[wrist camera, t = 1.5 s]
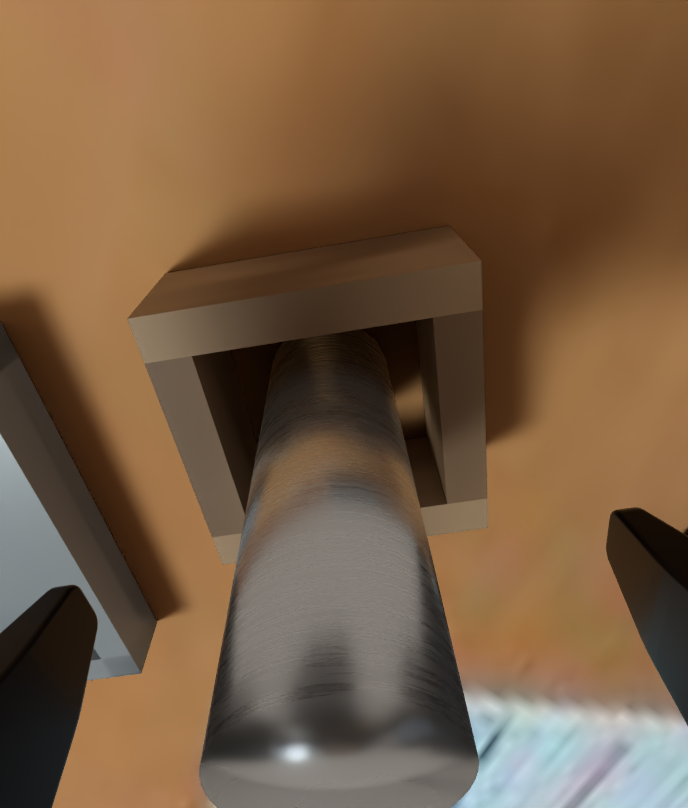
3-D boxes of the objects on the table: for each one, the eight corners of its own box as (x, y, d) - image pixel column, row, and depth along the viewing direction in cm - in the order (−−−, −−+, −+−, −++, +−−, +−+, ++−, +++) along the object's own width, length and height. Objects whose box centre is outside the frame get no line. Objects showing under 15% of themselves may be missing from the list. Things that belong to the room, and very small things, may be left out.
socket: (449, 225, 13) (481, 260, 10) (461, 458, 16) (487, 527, 14) (165, 273, 13) (127, 319, 11) (238, 491, 17) (222, 564, 14)
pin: (380, 312, 14) (474, 678, 5) (393, 415, 16) (482, 824, 7) (259, 331, 14) (160, 717, 5) (285, 431, 16) (239, 851, 7)
